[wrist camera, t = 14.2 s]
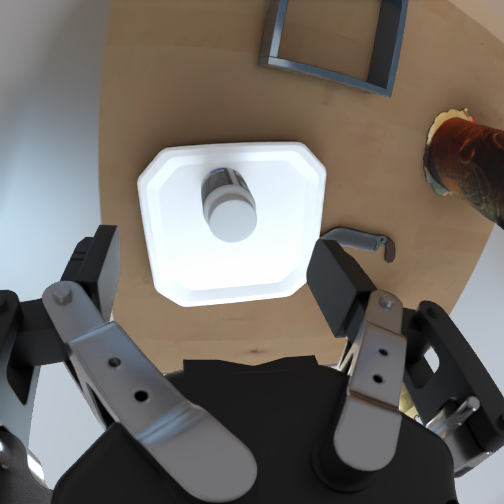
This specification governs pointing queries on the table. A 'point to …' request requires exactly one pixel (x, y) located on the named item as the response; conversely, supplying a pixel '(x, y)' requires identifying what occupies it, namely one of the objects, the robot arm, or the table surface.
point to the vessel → (467, 162)
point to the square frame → (377, 81)
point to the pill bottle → (228, 205)
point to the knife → (361, 241)
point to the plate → (241, 253)
